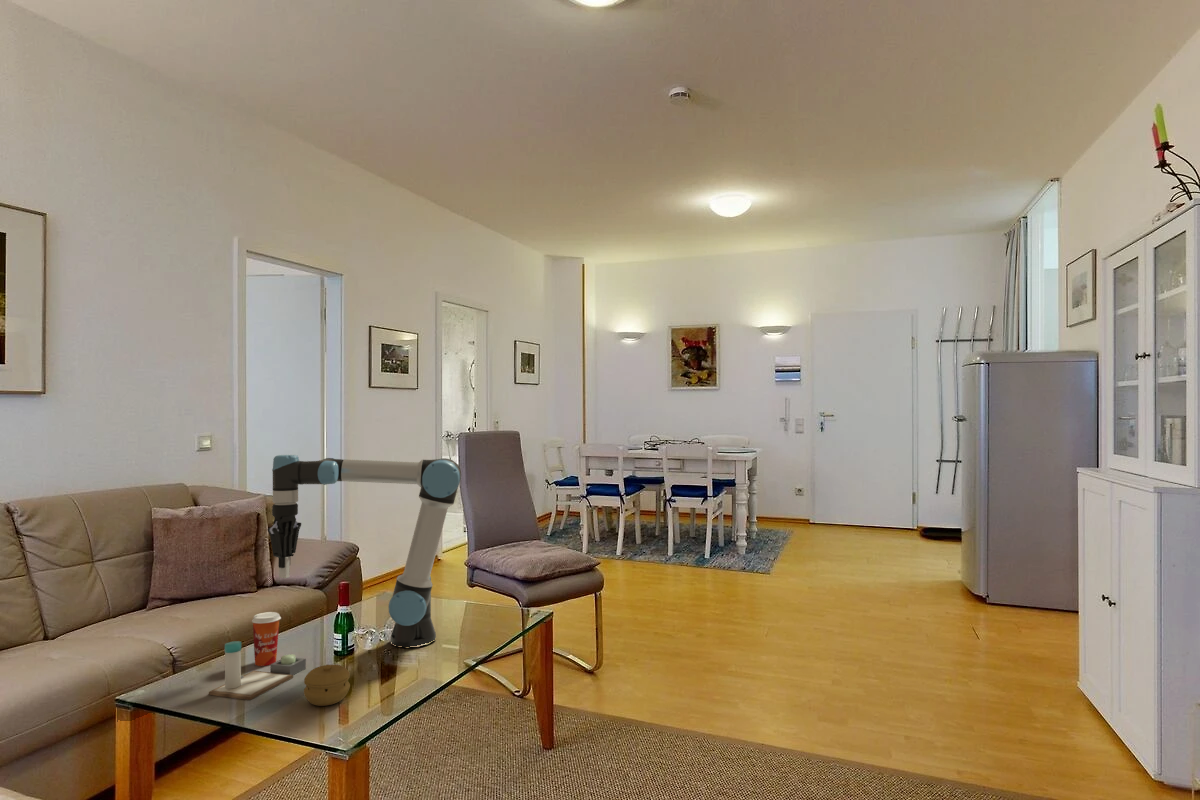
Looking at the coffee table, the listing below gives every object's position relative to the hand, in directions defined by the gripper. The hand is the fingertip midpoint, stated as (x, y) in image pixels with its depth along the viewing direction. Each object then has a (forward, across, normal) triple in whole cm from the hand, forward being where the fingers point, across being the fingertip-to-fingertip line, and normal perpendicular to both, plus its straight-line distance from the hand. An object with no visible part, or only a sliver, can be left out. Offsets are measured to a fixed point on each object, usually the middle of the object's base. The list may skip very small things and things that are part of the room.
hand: (284, 577), depth 222 cm
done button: (+26, +8, +8) cm, 28 cm away
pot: (+27, +24, +34) cm, 49 cm away
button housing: (+26, +8, +8) cm, 29 cm away
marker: (+25, +24, +3) cm, 35 cm away
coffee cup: (+27, +3, -4) cm, 27 cm away
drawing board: (+26, +20, +6) cm, 34 cm away
